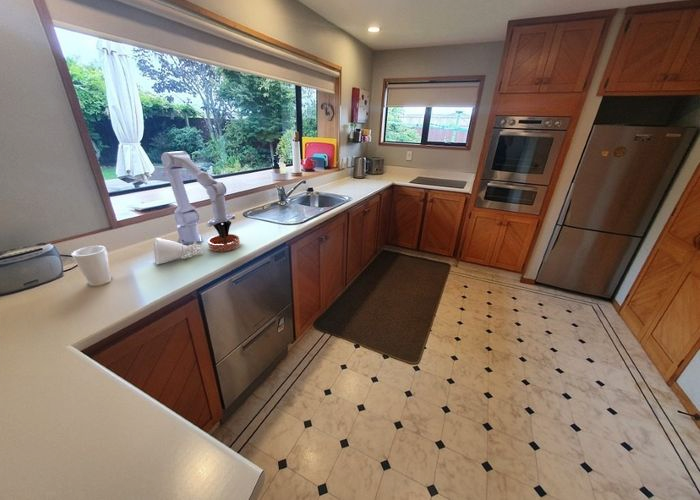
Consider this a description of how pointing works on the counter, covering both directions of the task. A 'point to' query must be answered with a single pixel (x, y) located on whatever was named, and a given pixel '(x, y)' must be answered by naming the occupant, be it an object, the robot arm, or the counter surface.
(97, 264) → the foam cup
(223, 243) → the stick
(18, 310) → the counter surface
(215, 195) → the robot arm
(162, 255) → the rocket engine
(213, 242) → the bowl
